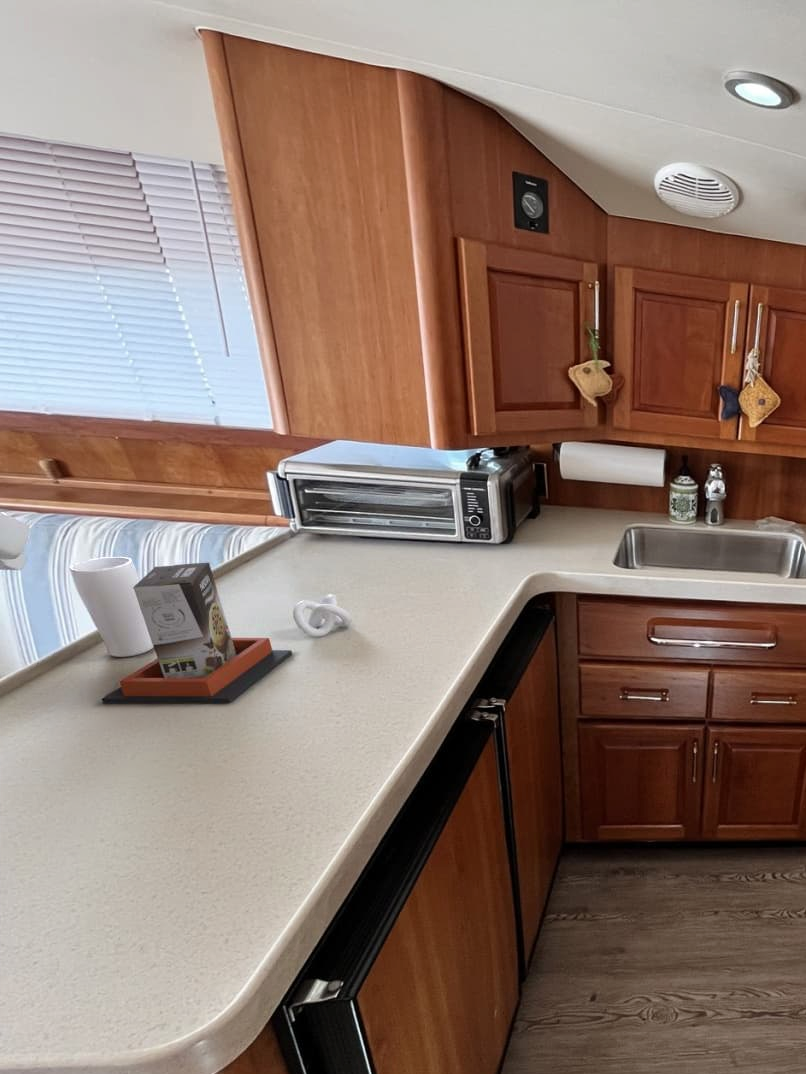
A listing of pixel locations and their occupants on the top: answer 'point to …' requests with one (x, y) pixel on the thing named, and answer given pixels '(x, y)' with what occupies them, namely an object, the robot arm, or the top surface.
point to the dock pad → (215, 688)
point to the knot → (321, 616)
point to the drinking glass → (113, 603)
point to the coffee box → (185, 620)
